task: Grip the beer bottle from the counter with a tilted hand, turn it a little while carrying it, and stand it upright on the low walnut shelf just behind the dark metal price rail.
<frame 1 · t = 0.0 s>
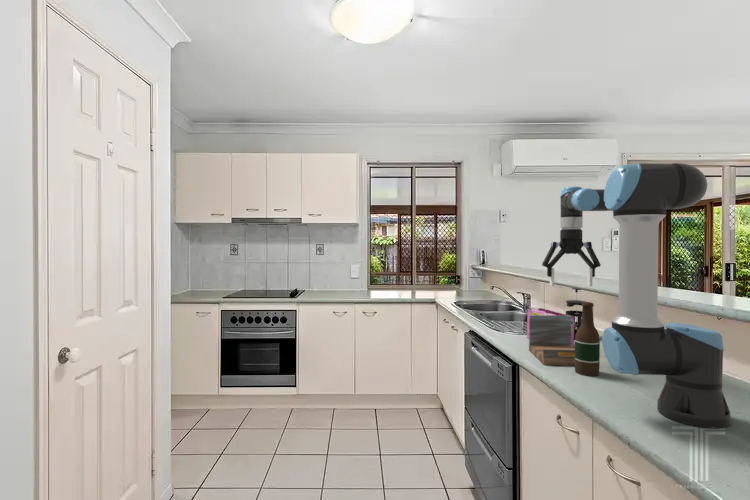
hand: (570, 285, 159), 28 cm above the worktop, tool pointing down, fingers open, 13 cm apart
french press: (575, 338, 195), on the worktop
beer bottle: (587, 373, 145), on the worktop
gum box: (549, 343, 185), on the worktop
shelf: (557, 357, 163), on the worktop
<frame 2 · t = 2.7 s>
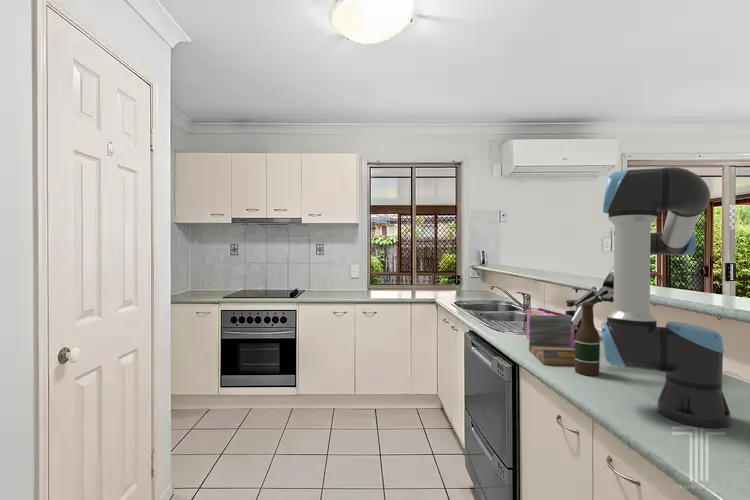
hand: (591, 326, 146), 15 cm above the worktop, tool tilted 45°, fingers open, 13 cm apart
nothing on the worktop moved.
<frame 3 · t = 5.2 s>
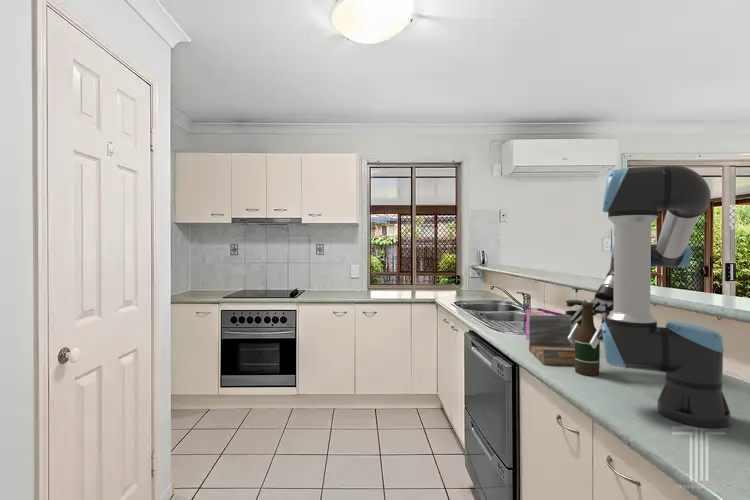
hand: (580, 343, 143), 11 cm above the worktop, tool tilted 45°, fingers closed on beer bottle, 7 cm apart
beer bottle: (587, 373, 145), on the worktop, touching gripper
everything else where it was.
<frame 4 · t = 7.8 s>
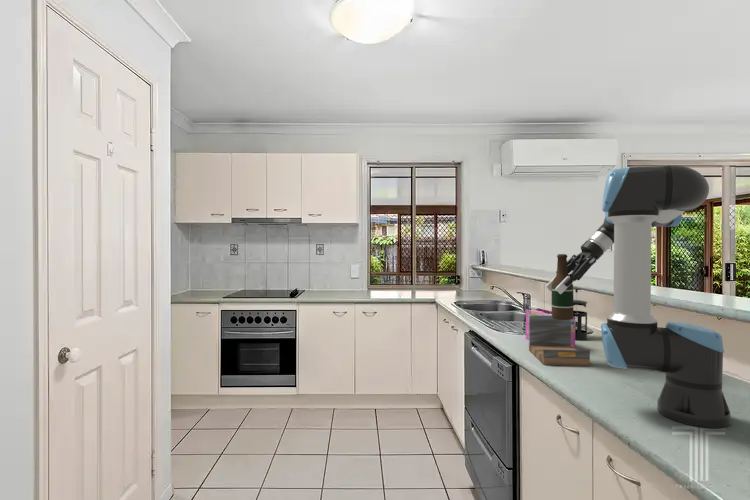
hand: (553, 290, 159), 26 cm above the worktop, tool tilted 45°, fingers closed on beer bottle, 7 cm apart
beer bottle: (562, 318, 159), point 16 cm above the worktop, touching gripper
everything else where it was.
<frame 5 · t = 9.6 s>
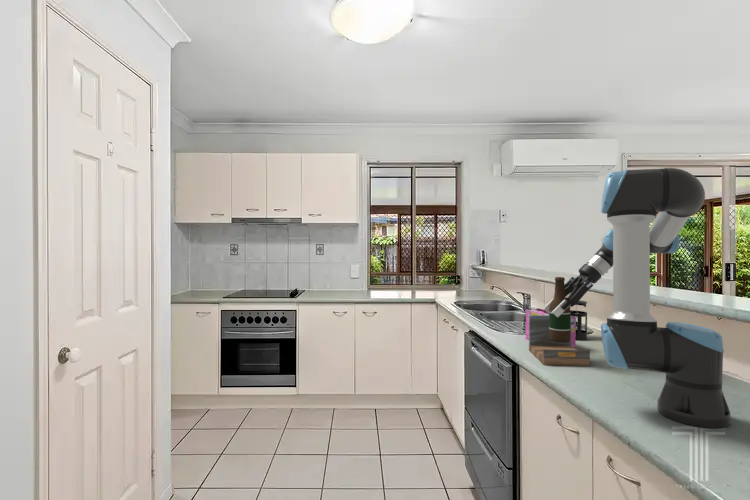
hand: (550, 312, 161), 18 cm above the worktop, tool tilted 45°, fingers closed on beer bottle, 7 cm apart
beer bottle: (559, 340, 161), point 7 cm above the worktop, touching gripper
everything else where it was.
when the fingers open (14 cm above the worktop, at t = 10.7 s): beer bottle drops 1 cm, resting on shelf.
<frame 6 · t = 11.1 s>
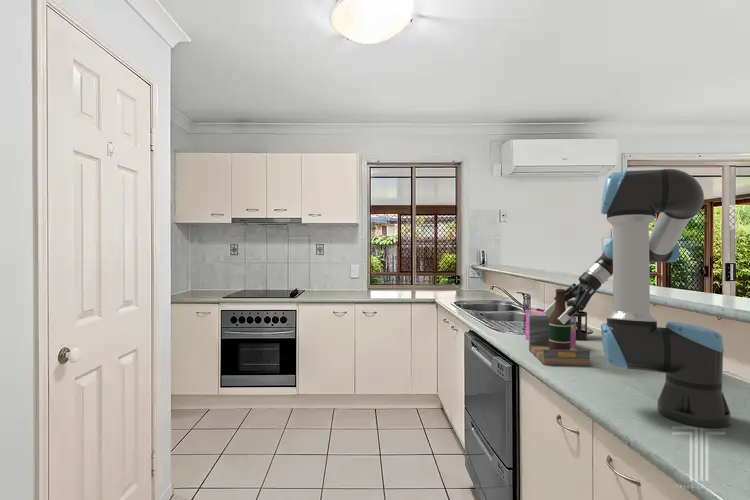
hand: (553, 318, 161), 16 cm above the worktop, tool tilted 45°, fingers open, 13 cm apart
beer bottle: (559, 352, 161), point 2 cm above the worktop, touching shelf
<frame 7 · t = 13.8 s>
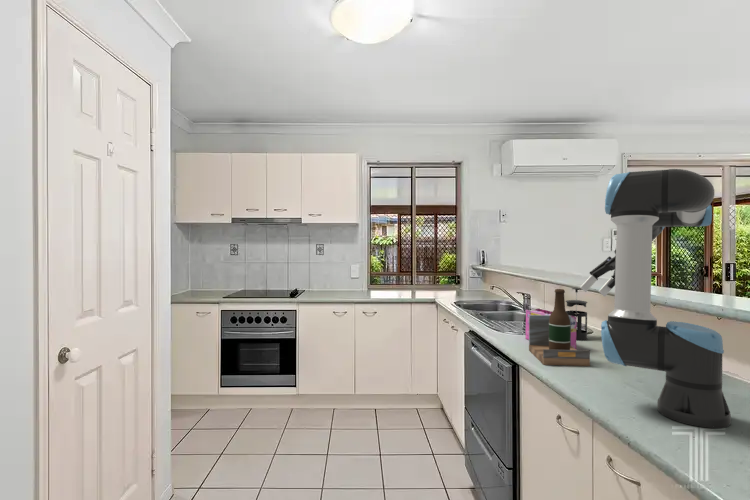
hand: (591, 291, 159), 26 cm above the worktop, tool tilted 40°, fingers open, 13 cm apart
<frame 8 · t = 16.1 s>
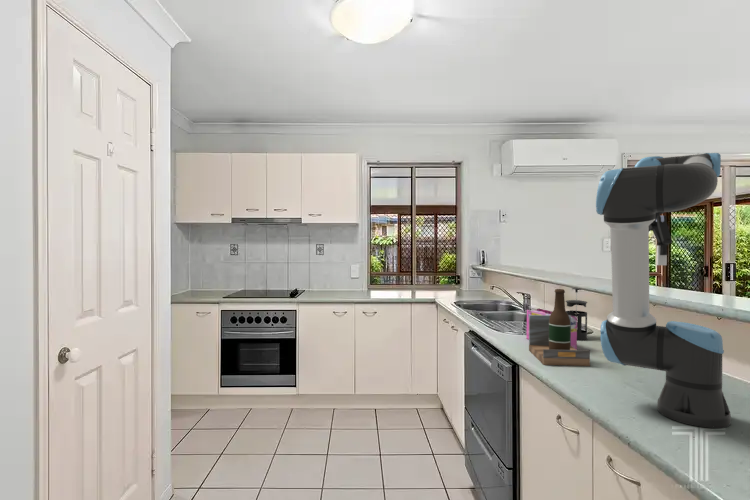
hand: (650, 264, 147), 37 cm above the worktop, tool pointing down, fingers open, 13 cm apart
at the end: beer bottle inside the target area on the shelf (0.2 cm from its centre), point 2.3 cm above the shelf's base; beer bottle tilted 0°; the gripper is holding nothing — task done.
